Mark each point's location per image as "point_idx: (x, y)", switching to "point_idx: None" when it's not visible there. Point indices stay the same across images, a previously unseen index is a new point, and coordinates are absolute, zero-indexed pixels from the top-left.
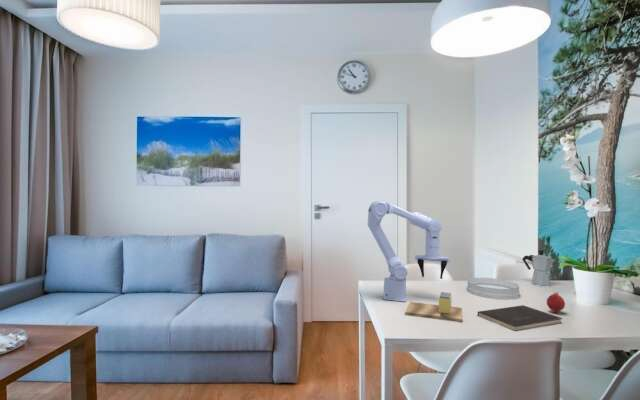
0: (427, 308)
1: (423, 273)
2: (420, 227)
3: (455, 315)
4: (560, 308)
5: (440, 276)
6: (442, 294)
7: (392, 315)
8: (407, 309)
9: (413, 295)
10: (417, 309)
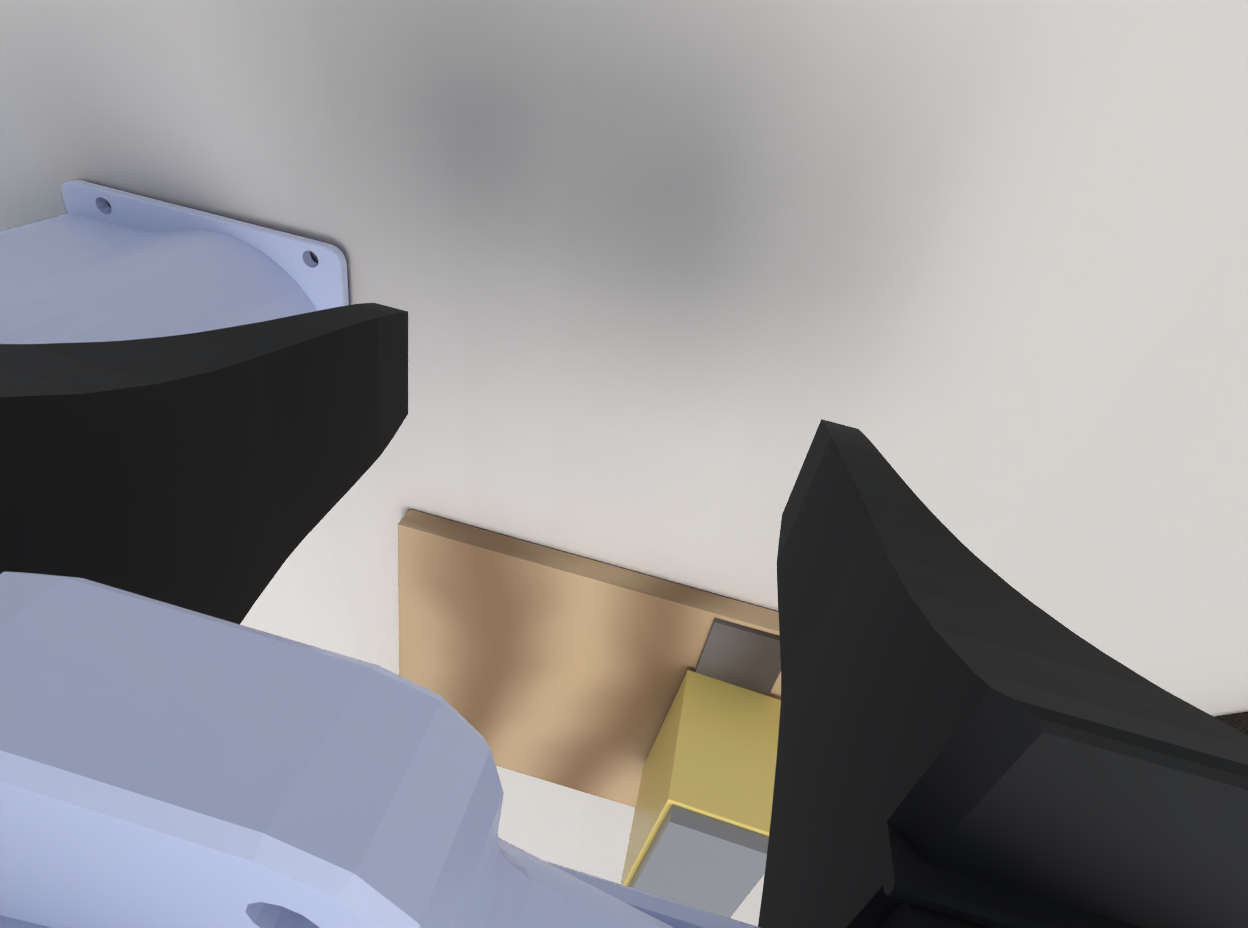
0: (564, 680)
1: (360, 453)
2: None
3: None
4: None
5: (779, 564)
6: (664, 877)
7: None
8: None
9: (409, 111)
10: (482, 699)
